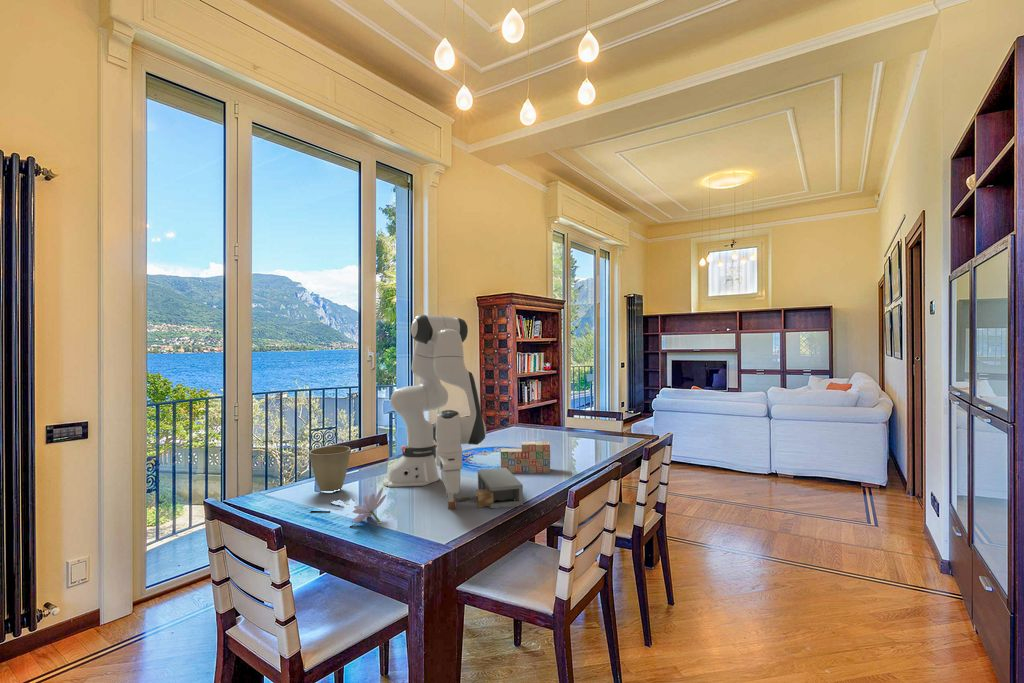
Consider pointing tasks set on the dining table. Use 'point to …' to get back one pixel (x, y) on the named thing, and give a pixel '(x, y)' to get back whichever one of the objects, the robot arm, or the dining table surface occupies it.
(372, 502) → the water lily
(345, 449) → the plant pot
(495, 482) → the shelf
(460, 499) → the toy hammer
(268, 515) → the dining table surface
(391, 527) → the dining table surface
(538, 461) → the stack of blocks
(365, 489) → the dining table surface
